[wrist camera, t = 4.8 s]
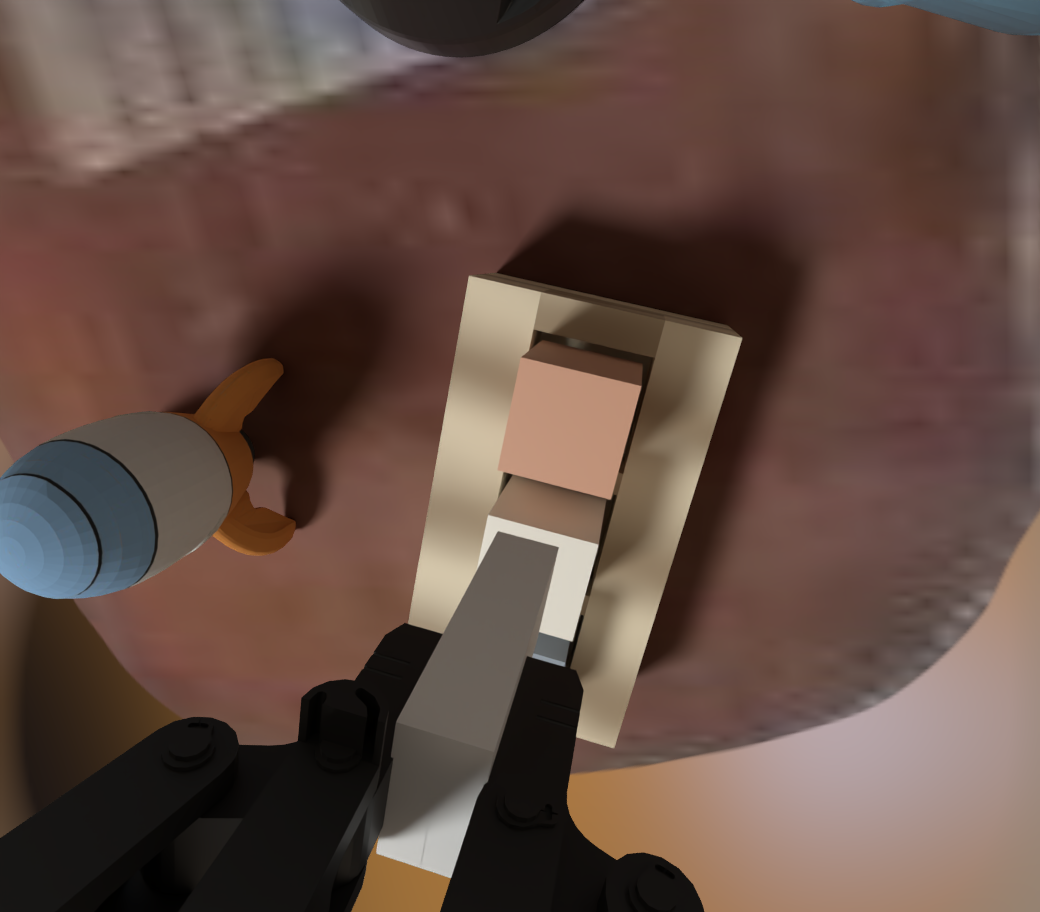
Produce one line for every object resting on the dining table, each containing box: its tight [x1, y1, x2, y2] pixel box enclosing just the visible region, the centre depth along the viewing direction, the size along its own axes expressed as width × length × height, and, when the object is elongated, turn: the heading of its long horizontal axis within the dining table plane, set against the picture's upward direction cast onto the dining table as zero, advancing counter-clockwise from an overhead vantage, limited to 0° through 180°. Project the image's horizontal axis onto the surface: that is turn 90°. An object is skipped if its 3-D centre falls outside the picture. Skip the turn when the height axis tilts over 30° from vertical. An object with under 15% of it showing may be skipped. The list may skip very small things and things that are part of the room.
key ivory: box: [477, 474, 606, 641], centre depth 27 cm, size 4×4×5 cm
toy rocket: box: [0, 358, 296, 599], centre depth 31 cm, size 10×11×15 cm
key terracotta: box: [497, 340, 643, 500], centre depth 26 cm, size 4×4×5 cm
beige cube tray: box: [408, 273, 742, 748], centre depth 32 cm, size 20×11×5 cm, turn 168°
